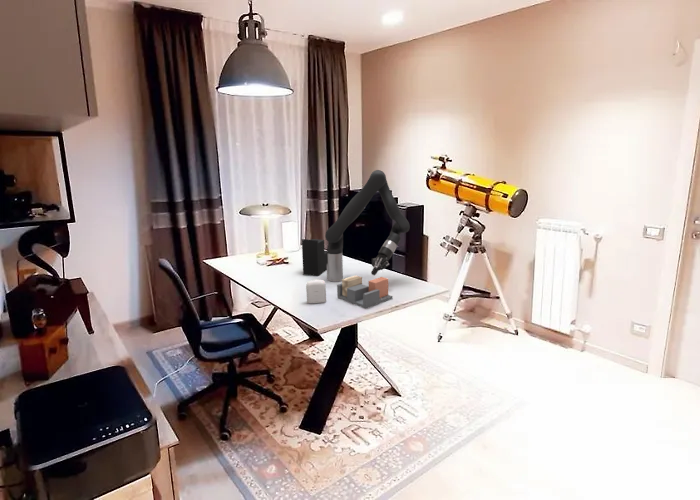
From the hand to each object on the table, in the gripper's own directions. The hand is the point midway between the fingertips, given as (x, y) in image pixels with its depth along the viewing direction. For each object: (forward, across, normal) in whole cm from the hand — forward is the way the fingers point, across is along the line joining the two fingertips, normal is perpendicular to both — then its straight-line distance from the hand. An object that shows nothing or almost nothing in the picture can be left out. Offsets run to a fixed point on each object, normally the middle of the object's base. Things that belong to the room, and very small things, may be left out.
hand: (372, 274), depth 240 cm
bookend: (+6, -53, +8) cm, 54 cm away
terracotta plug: (+11, +12, 0) cm, 16 cm away
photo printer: (+31, -8, -18) cm, 37 cm away
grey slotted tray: (+15, +6, -2) cm, 17 cm away
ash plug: (+17, 0, -6) cm, 18 cm away
